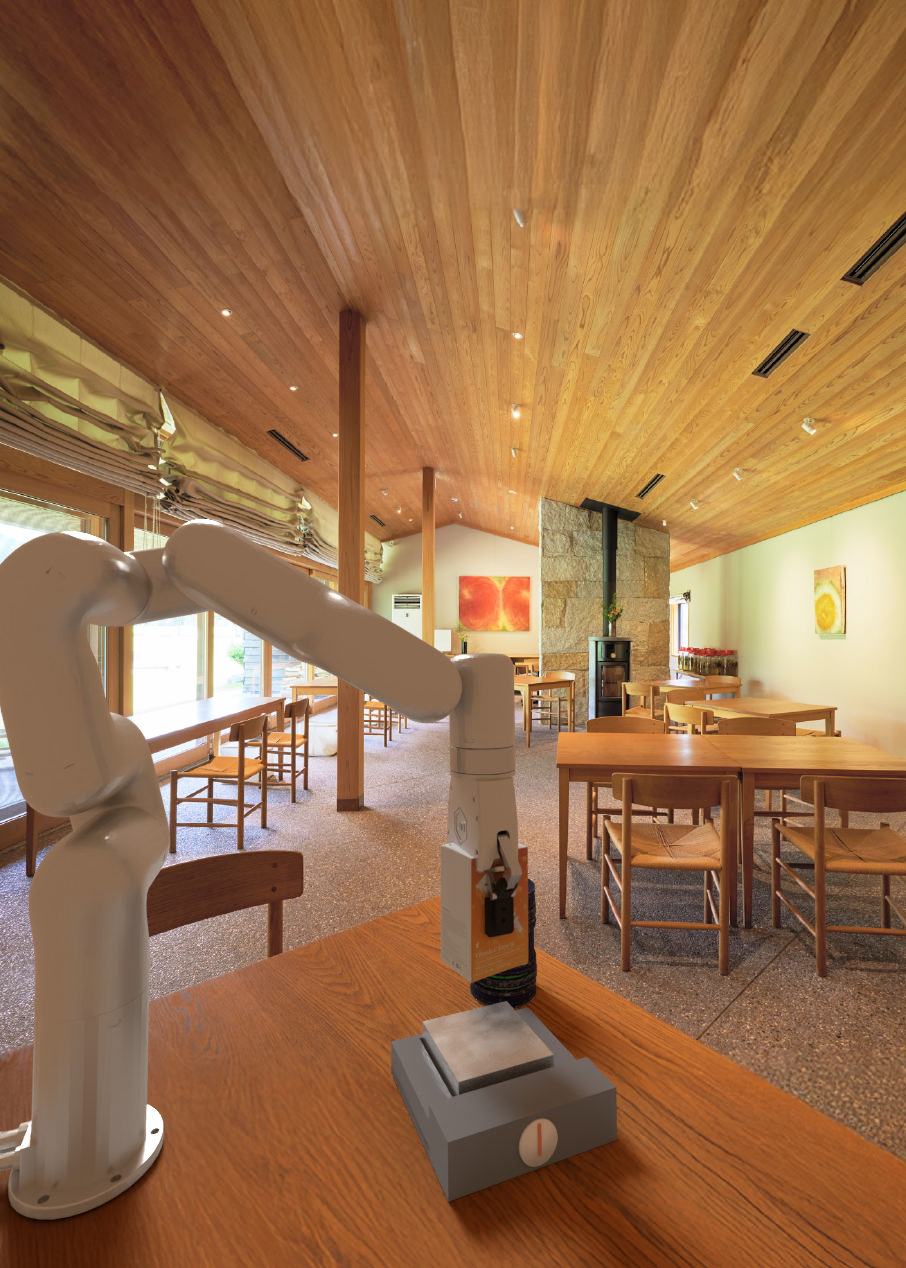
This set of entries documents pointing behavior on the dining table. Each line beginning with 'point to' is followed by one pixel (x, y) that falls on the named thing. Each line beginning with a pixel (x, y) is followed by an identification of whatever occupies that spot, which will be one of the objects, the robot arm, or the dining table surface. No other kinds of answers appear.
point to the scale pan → (483, 1048)
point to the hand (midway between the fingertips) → (484, 918)
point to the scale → (505, 1115)
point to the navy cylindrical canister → (512, 972)
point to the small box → (478, 917)
